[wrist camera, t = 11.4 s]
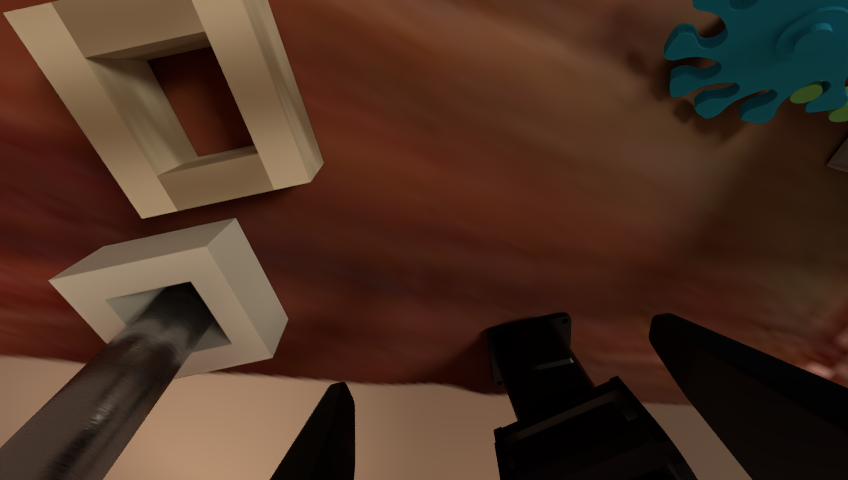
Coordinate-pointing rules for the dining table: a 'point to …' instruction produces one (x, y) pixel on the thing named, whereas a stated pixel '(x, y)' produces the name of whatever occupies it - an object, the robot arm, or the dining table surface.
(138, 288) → the socket block
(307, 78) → the dining table surface
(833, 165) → the soda box
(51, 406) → the grey metal rod
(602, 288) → the dining table surface
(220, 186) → the beige square frame block
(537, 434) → the robot arm
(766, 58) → the teal lobed piece
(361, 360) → the dining table surface
